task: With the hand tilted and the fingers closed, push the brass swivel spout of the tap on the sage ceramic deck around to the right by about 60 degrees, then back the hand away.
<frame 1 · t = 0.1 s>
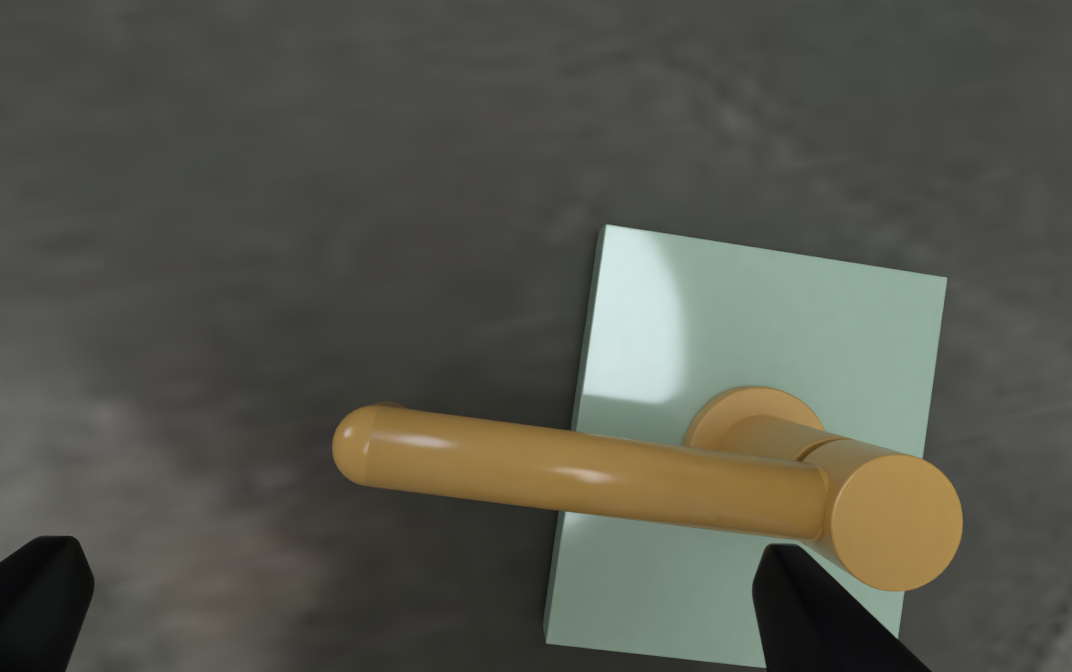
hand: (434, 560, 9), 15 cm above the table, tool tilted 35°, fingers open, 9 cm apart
spout: (638, 476, 16), point 8 cm above the table, hinge at 0.0°
tap column: (788, 473, 20), on the tap deck, point 4 cm above the table
tap deck: (735, 449, 25), on the table
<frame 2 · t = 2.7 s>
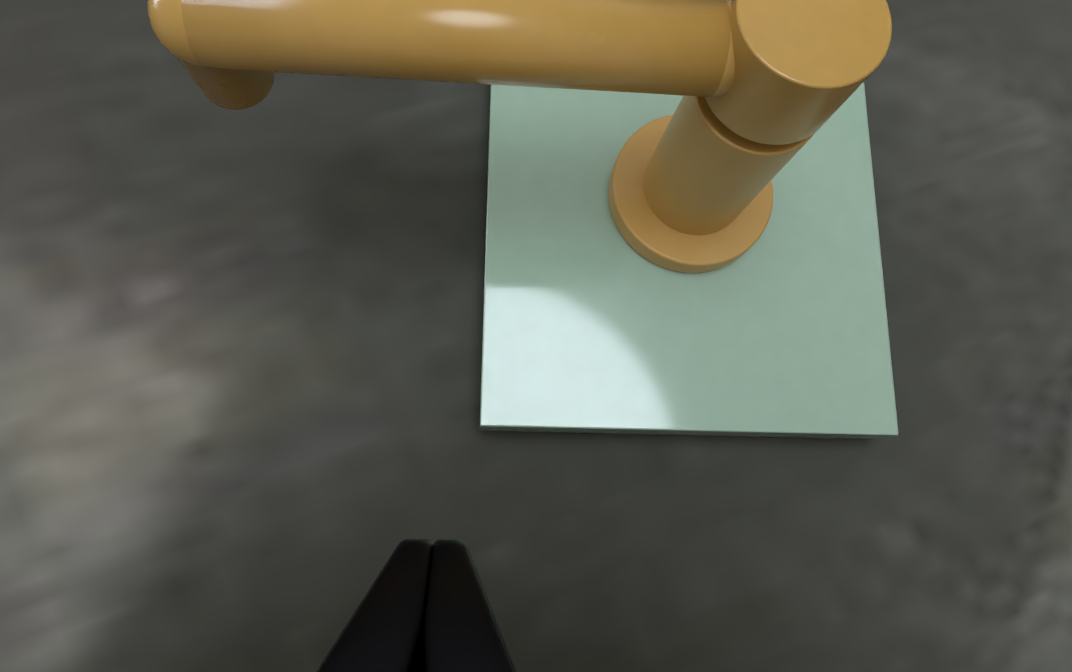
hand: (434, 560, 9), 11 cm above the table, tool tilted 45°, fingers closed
spout: (520, 50, 14), point 8 cm above the table, hinge at 0.0°
tap column: (717, 153, 18), on the tap deck, point 4 cm above the table
tap deck: (672, 217, 22), on the table
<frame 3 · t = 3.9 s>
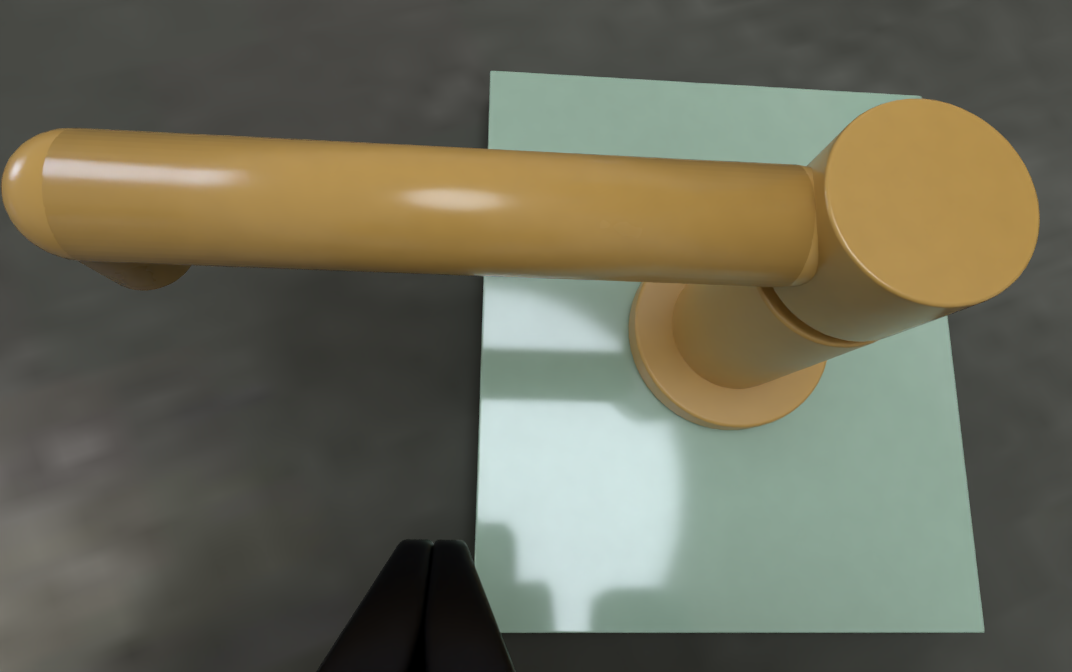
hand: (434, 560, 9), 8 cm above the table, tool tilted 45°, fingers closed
spout: (522, 225, 10), point 8 cm above the table, hinge at 0.0°
tap column: (768, 304, 15), on the tap deck, point 4 cm above the table
tap deck: (703, 346, 19), on the table
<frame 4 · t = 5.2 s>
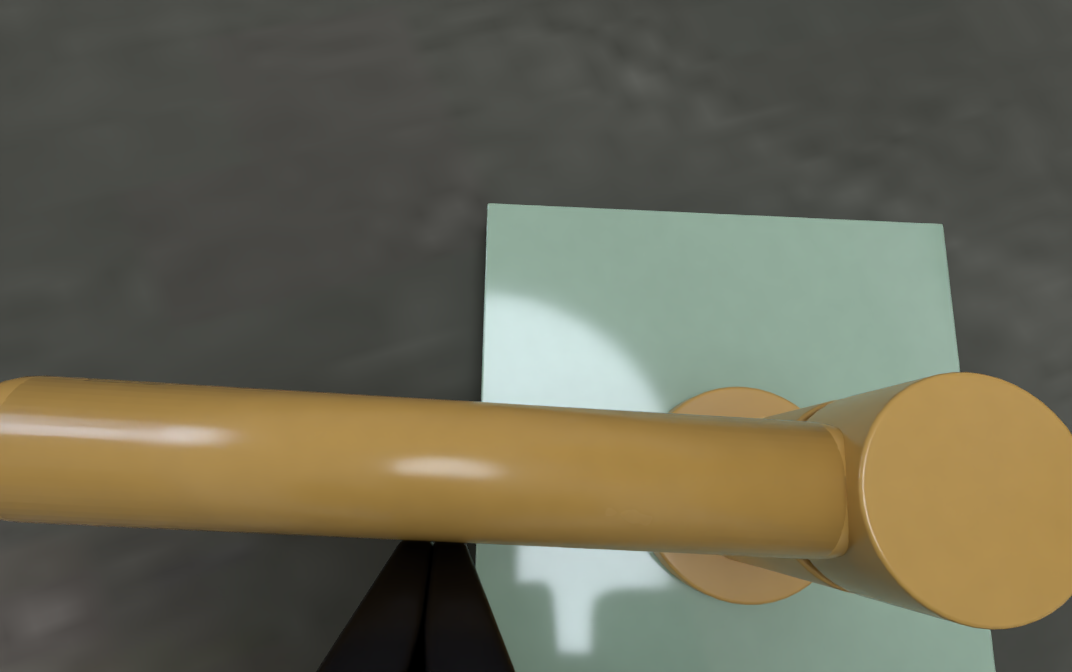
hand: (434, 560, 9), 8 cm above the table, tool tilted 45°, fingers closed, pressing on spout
spout: (520, 474, 9), point 8 cm above the table, hinge at -2.0°, touching gripper
tap column: (785, 492, 14), on the tap deck, point 4 cm above the table
tap deck: (712, 491, 18), on the table
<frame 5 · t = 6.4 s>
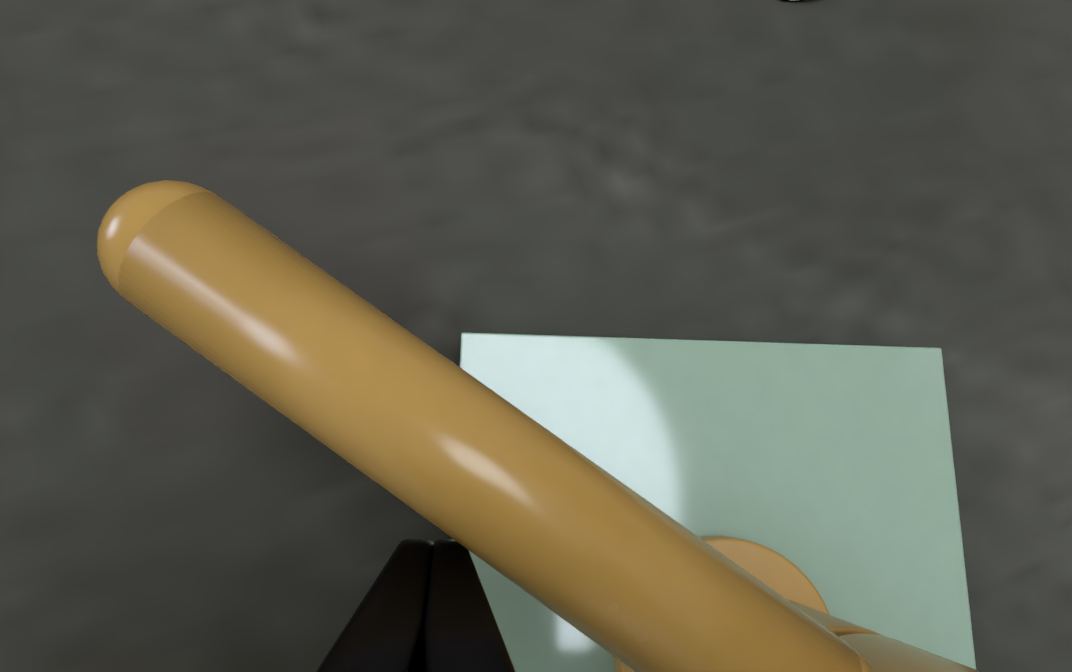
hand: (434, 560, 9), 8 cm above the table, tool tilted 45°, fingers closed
spout: (550, 519, 9), point 8 cm above the table, hinge at -34.1°, touching gripper
tap deck: (698, 633, 17), on the table
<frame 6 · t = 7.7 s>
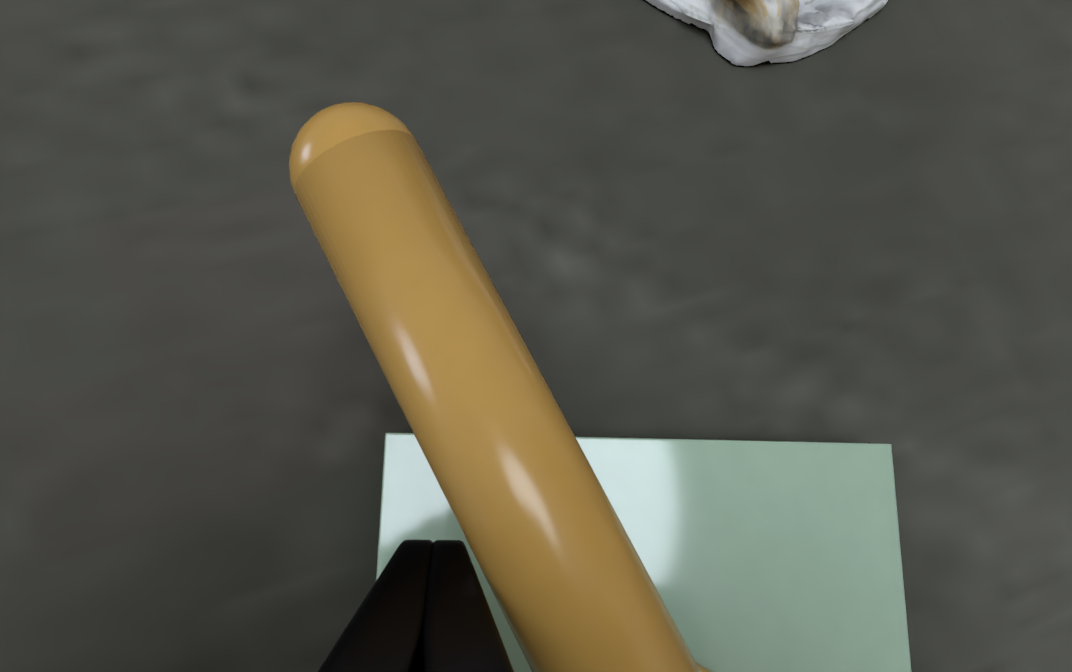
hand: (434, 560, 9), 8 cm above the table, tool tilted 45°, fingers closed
spout: (567, 579, 9), point 8 cm above the table, hinge at -61.0°, touching gripper
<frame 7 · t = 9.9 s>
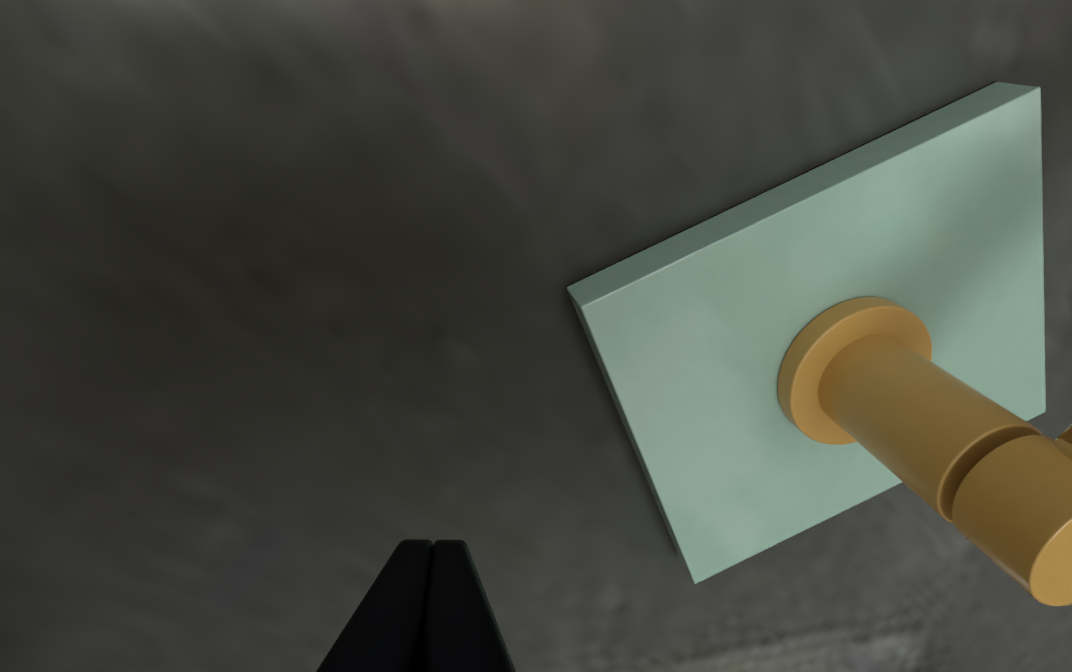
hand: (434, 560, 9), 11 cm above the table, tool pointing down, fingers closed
tap column: (910, 415, 19), on the tap deck, point 4 cm above the table
tap deck: (818, 345, 23), on the table
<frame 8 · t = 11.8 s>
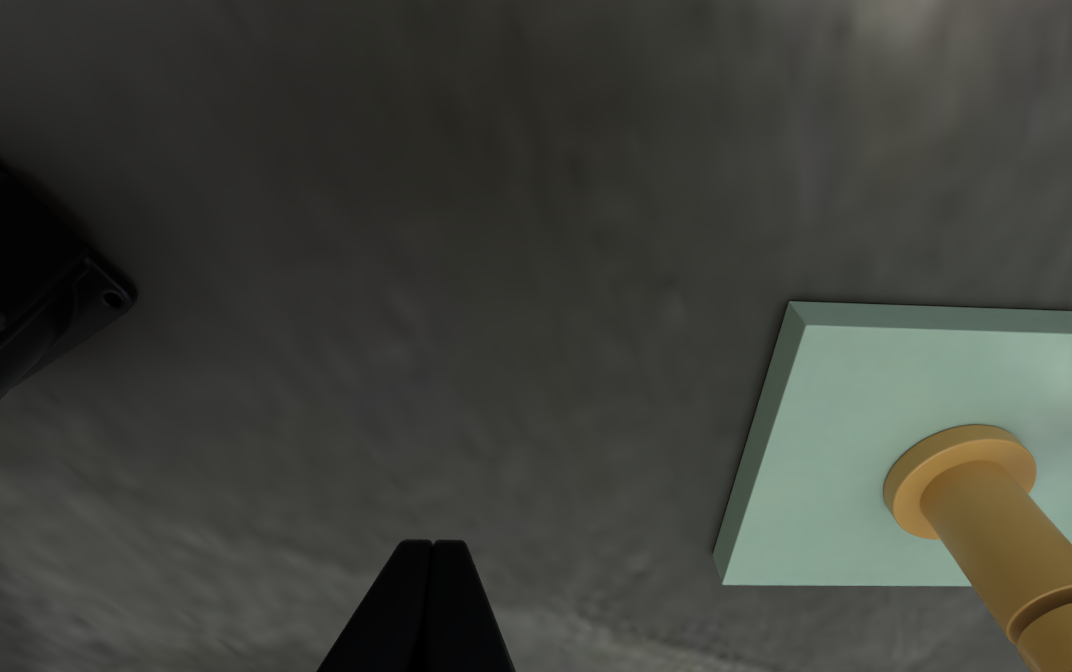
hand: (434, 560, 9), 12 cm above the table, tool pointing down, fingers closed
tap column: (1001, 540, 22), on the tap deck, point 4 cm above the table
tap deck: (929, 447, 26), on the table
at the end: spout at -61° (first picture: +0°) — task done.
